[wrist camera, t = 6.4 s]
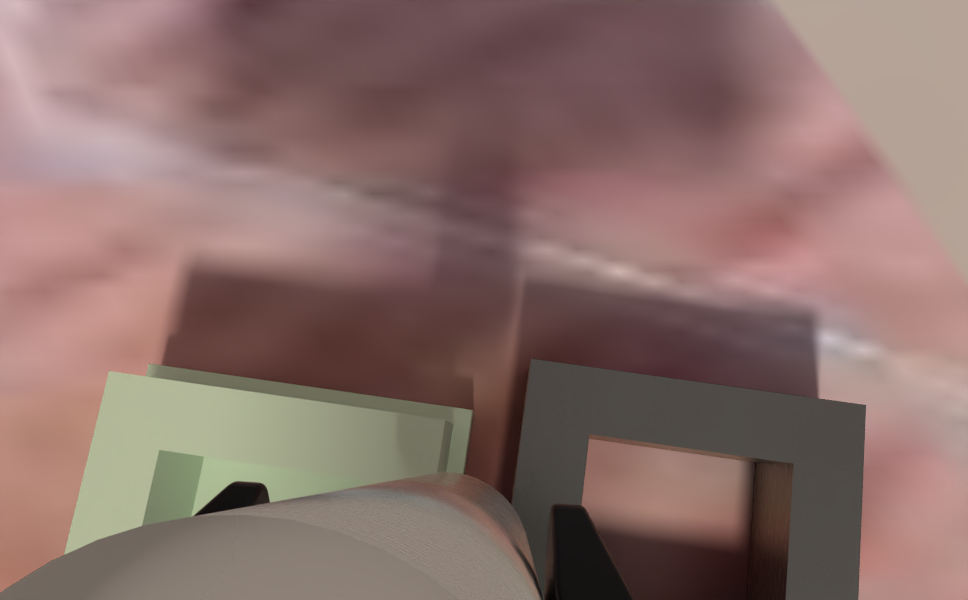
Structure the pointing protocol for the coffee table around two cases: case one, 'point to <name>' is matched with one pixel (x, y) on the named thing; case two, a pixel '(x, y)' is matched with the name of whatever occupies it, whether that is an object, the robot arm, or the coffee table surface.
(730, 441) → the socket
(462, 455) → the container
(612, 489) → the coffee table surface
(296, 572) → the grey cylinder
